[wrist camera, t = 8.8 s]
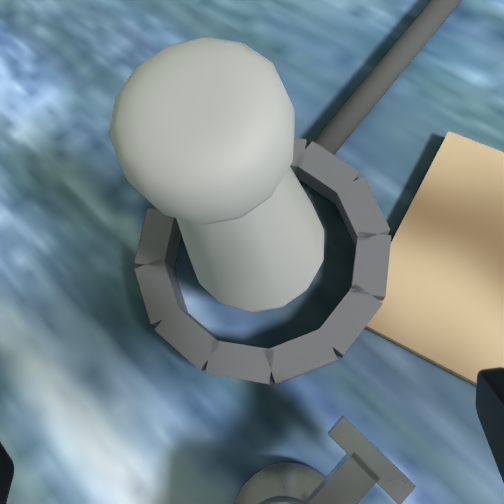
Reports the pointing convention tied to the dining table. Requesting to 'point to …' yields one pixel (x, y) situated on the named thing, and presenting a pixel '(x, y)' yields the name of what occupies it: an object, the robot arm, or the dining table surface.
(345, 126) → the grey ring with rod
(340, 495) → the clip
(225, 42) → the salt shaker
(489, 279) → the coaster
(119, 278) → the dining table surface
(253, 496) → the clip post
